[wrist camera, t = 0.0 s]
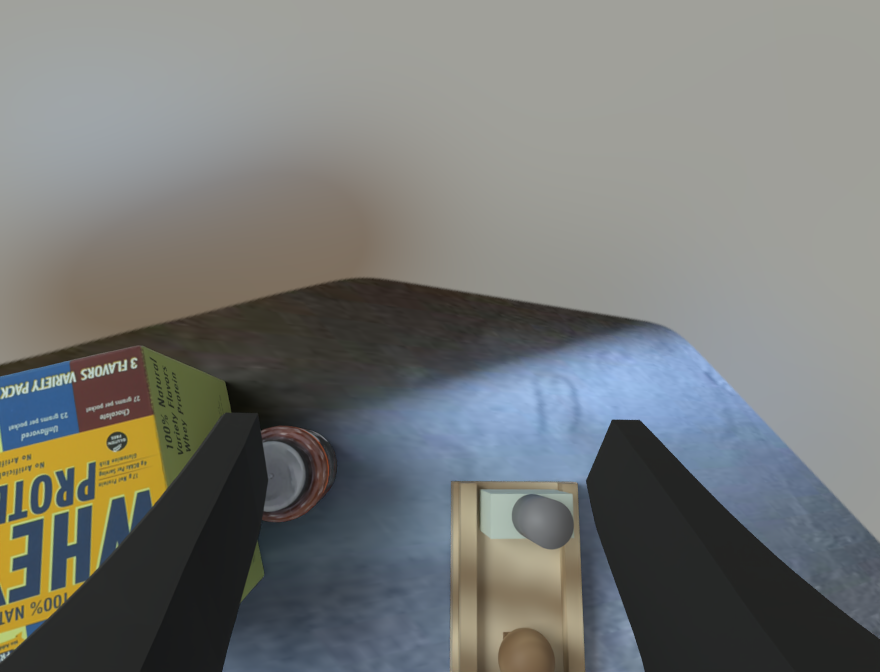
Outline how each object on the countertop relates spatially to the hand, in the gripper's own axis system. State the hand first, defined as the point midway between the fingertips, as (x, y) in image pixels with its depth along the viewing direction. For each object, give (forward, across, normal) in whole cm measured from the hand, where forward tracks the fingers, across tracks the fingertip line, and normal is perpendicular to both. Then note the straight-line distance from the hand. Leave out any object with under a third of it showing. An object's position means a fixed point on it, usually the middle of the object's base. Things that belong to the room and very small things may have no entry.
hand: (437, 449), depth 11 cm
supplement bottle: (+20, +7, +26) cm, 33 cm away
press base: (+12, -10, +32) cm, 36 cm away
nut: (+9, -10, +33) cm, 36 cm away
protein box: (+18, +16, +27) cm, 36 cm away
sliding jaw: (+17, -10, +26) cm, 33 cm away
